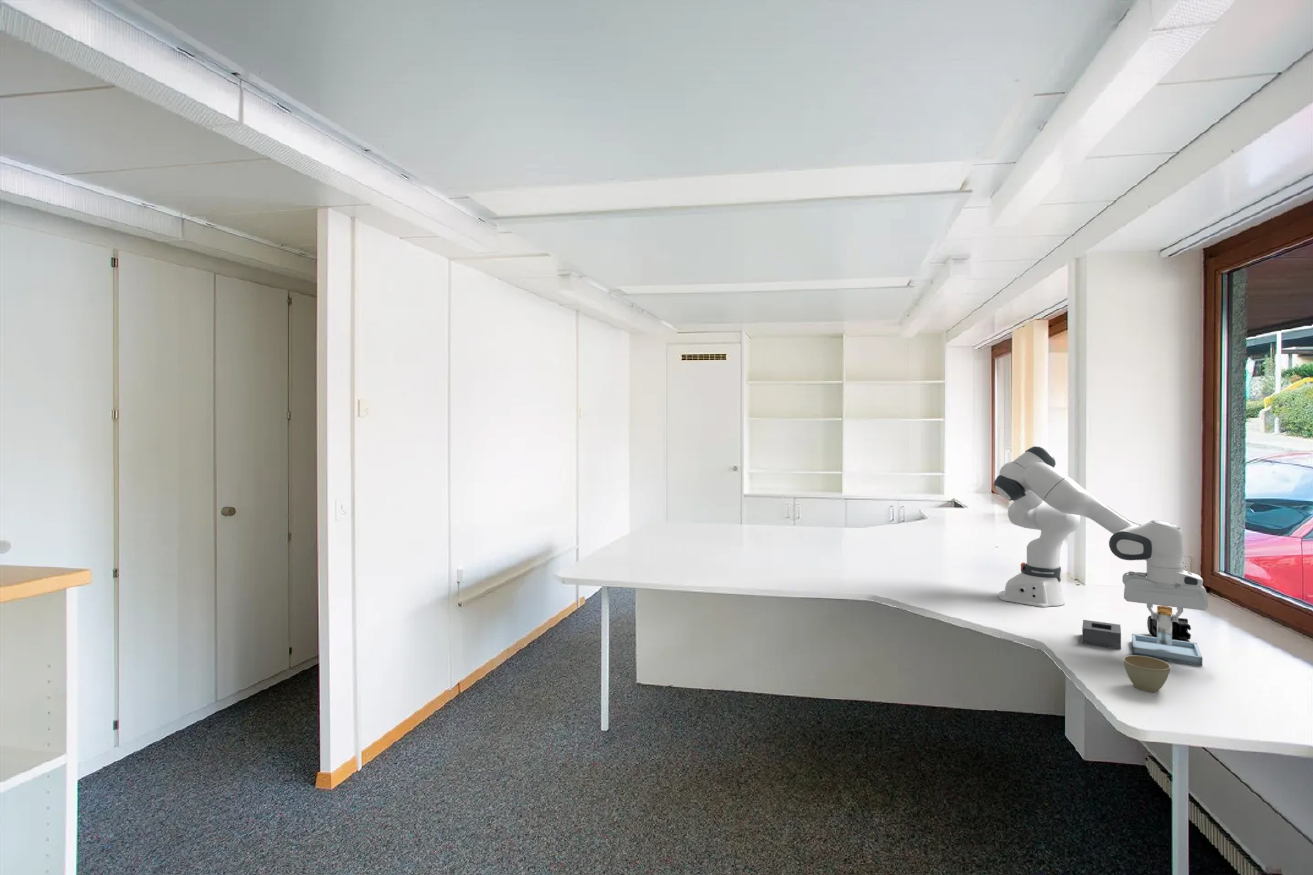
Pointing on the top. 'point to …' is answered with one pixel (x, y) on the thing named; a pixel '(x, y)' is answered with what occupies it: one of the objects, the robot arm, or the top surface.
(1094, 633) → the socket block
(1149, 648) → the tray
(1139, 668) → the olive bowl
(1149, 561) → the robot arm
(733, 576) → the top surface
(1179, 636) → the end cap
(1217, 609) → the top surface
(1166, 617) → the gold and grey cylinder
